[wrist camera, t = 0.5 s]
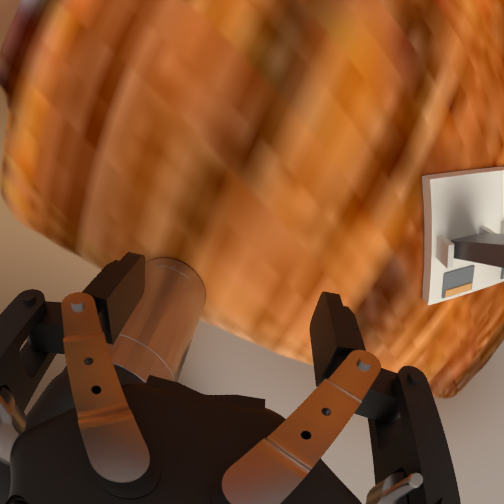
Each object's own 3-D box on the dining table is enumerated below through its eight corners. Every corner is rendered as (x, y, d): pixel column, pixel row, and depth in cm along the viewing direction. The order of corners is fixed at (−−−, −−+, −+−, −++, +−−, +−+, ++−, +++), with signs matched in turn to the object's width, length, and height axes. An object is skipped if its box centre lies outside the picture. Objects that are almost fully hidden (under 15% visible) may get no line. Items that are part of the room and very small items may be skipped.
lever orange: (479, 250, 28) (574, 263, 12) (446, 259, 29) (541, 279, 13) (477, 231, 28) (572, 233, 12) (444, 238, 29) (540, 246, 13)
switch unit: (520, 266, 31) (537, 280, 27) (422, 297, 34) (437, 317, 30) (528, 164, 25) (550, 171, 21) (421, 175, 28) (442, 184, 24)
